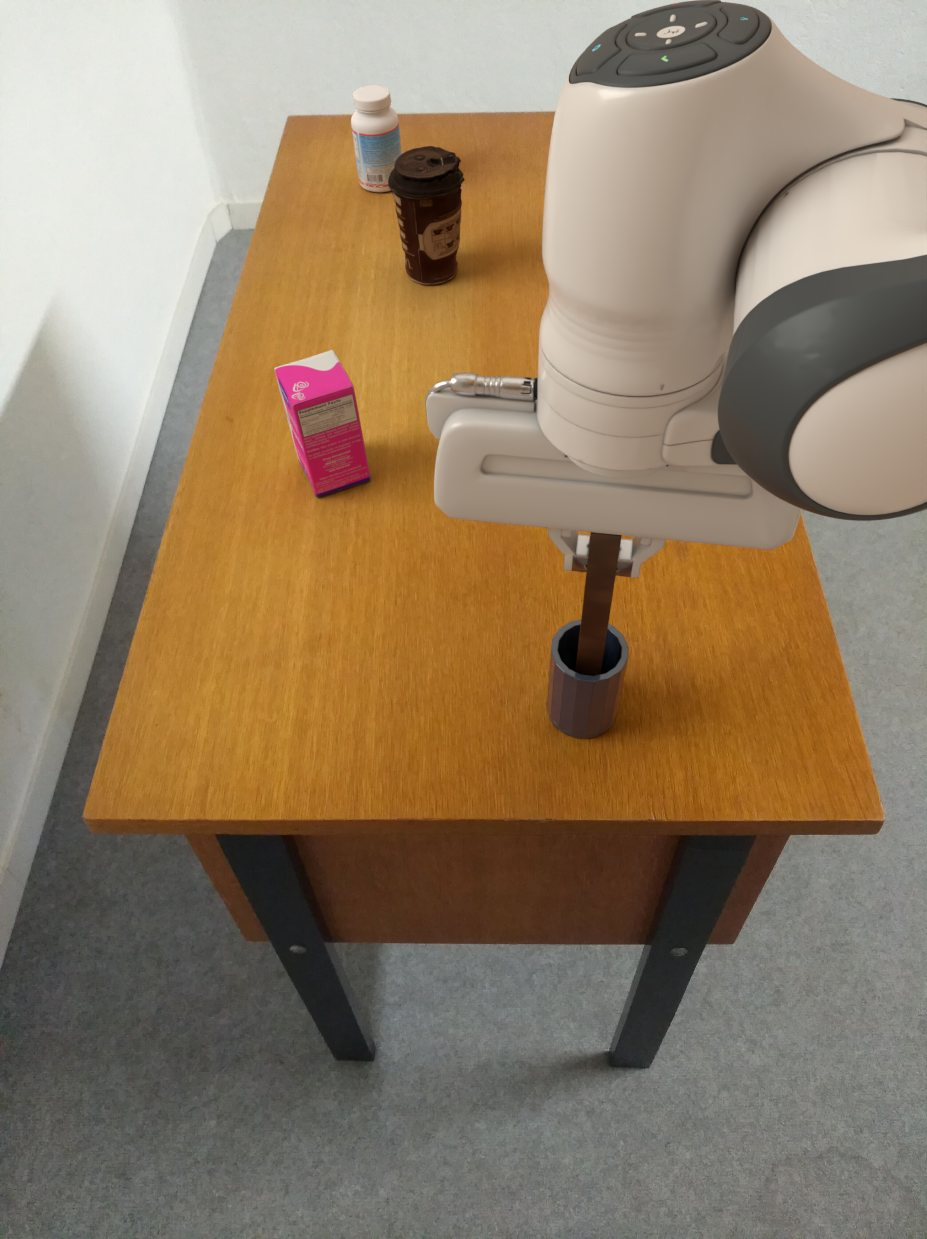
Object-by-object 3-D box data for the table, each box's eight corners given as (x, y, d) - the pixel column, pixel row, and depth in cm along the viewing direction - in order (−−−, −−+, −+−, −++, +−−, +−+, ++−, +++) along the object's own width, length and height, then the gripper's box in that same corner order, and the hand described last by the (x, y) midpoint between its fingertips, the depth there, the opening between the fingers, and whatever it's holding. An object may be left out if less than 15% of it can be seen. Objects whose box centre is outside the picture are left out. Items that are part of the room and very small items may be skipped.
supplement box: (296, 462, 87) (272, 364, 78) (353, 444, 88) (336, 346, 79) (314, 500, 84) (291, 403, 75) (373, 481, 85) (357, 384, 76)
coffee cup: (483, 264, 107) (480, 153, 97) (445, 299, 103) (438, 187, 93) (422, 245, 110) (414, 135, 100) (383, 278, 106) (370, 168, 96)
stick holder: (619, 683, 71) (630, 623, 64) (614, 743, 67) (625, 685, 61) (551, 675, 71) (555, 614, 65) (543, 733, 68) (547, 675, 62)
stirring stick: (596, 694, 69) (623, 514, 53) (594, 714, 68) (621, 536, 52) (573, 691, 69) (593, 511, 53) (571, 711, 68) (590, 533, 52)
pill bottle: (413, 179, 120) (406, 89, 111) (383, 198, 117) (373, 108, 108) (379, 167, 122) (369, 78, 113) (349, 185, 119) (337, 95, 111)
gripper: (409, 411, 44) (429, 587, 55) (839, 447, 42) (769, 624, 53) (434, 334, 48) (447, 514, 59) (829, 363, 45) (766, 545, 56)
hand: (602, 566), depth 56 cm, fingers closed on stirring stick, 2 cm apart
